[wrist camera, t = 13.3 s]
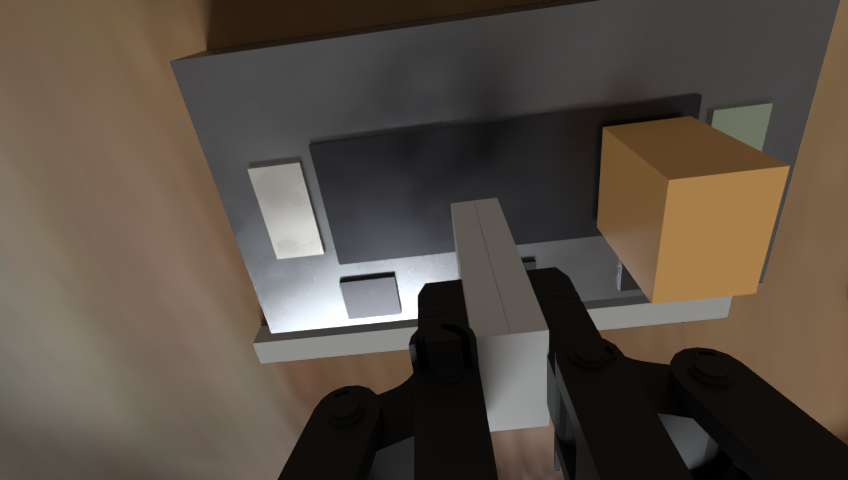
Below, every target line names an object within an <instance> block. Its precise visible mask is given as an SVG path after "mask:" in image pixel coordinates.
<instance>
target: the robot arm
mask: <svg viewBox="0 0 848 480" xmlns="http://www.w3.org/2000/svg"><path fill="white" fill-rule="evenodd" d="M450 204H451V213H452V222H453V231H454V240H455V249H456V258H457V267H458V276H459V279H458V280H449V281H440V282H432V283H425V284H424V286H423V287H422V289H421V291H420V292H419V294H418V329H417V330H416V331H415V332H414V334H413V335H412V336H411V338H410V342H409V350H410V356H411V361H412V366H413V372H414V373H413V374H412V375H411V377H410V378H409V379H408V380H407V381H405V382H404V383H403V384H401V385H400V386H398V387H396V388H394V389H392V390H389V391H387V392H384V393H381V394H379V395H377V394H375V393H374V392H373V391H372V390H370V389H369V388H366V387H362V386H358V385H357V386H345V387H342V388H340V389H337V390H334V391H332V392H331V393H330V394H328V395H327V396H325V397H324V398H323V399H322V400H321V401H320V402H319V404H318V405H317V406H316V408H315V409H314V411H313V413H312V415H311V417H310V419H309V421H308V422H307V424H306V426H305V428H304V430H303V432H302V434H301V436H300V438H299V440H298V441H297V443H296V445H295V447H294V449H293V451H292V453H291V455H290V457H289V459H288V461H287V462H286V464H285V466H284V468H283V470H282V472H281V474H280V476H279V478H278V480H498V475H497V470H496V464H495V458H494V452H493V446H492V440H491V435H490V432H491V431H501V430H511V429H521V428H531V427H541V426H549V413H550V416H551V419H552V422H553V425H554V428H555V430H554V465H555V471H560V466H561V469H562V472H563V476H564V479H565V480H848V446H847V445H846V444H845V443H843V442H842V441H841V440H840V439H838V438H837V437H836V436H835V435H833V434H832V433H831V432H829V431H828V430H827V429H826V428H824V427H823V426H822V425H821V424H819V423H818V422H817V421H815V420H814V419H813V418H812V417H810V416H809V415H808V414H807V413H805V412H804V411H803V410H801V409H800V408H799V407H798V406H796V405H795V404H794V403H793V402H791V401H790V400H789V399H787V398H786V397H785V396H784V395H782V394H781V393H780V392H779V391H777V390H776V389H775V388H773V387H772V386H771V385H770V384H768V383H767V382H766V381H764V380H763V379H762V378H761V377H759V376H758V375H757V374H756V373H754V372H753V371H752V370H750V369H749V368H748V367H747V366H745V365H744V364H743V363H742V362H740V361H738V360H737V359H735V358H733V357H732V356H730V355H728V354H726V353H723V352H720V351H717V350H714V349H707V348H699V347H696V348H689V349H684V350H682V351H680V352H678V353H676V354H675V355H674V357H673V358H672V360H671V362H670V365H667V364H660V363H652V362H644V361H639V360H634V359H631V358H628V357H626V356H624V355H623V353H622V352H621V351H620V350H619V349H618V347H617V346H616V345H614V344H613V343H611V342H609V341H607V340H606V339H603V338H602V337H601V335H600V333H599V331H598V330H597V328H596V326H595V324H594V322H593V320H592V318H591V317H590V315H589V313H588V311H587V309H586V307H585V305H584V304H583V302H582V301H581V298H580V296H579V294H578V292H577V291H576V289H575V287H574V285H573V283H572V281H571V279H570V277H569V276H568V275H566V274H565V273H563V272H562V271H561V270H559V269H558V268H556V267H550V268H541V269H533V270H525V268H524V265H523V263H522V260H521V258H520V255H519V252H518V250H517V247H516V245H515V242H514V240H513V237H512V235H511V232H510V230H509V227H508V224H507V222H506V219H505V217H504V214H503V212H502V209H501V207H500V204H499V201H498V199H497V198H490V199H482V200H474V201H466V202H458V203H450Z"/></svg>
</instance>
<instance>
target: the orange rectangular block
mask: <svg viewBox="0 0 848 480" xmlns="http://www.w3.org/2000/svg"><path fill="white" fill-rule="evenodd" d="M789 168H790V166H789V165H787V164H785V163H783V162H781V161H779V160H777V159H775V158H773V157H771V156H769V155H767V154H765V153H763V152H761V151H759V150H757V149H755V148H753V147H751V146H749V145H747V144H745V143H743V142H741V141H739V140H737V139H735V138H733V137H731V136H729V135H727V134H725V133H723V132H721V131H719V130H717V129H715V128H713V127H711V126H709V125H707V124H705V123H703V122H701V121H699V120H697V119H695V118H693V117H691V116H687V117H679V118H671V119H664V120H656V121H648V122H640V123H632V124H624V125H616V126H608V127H603V135H602V151H601V168H600V185H599V201H598V218H597V228H598V229H599V231H600V232H601V233H602V235H603V236H604V238H605V239H606V240H607V242H608V243H609V245H610V246H611V247H612V249H613V250H614V252H615V253H616V255H617V256H618V257H619V259H620V260H621V262H622V263H623V264H624V266H625V267H626V269H627V270H628V271H629V273H630V274H631V276H632V277H633V278H634V280H635V281H636V283H637V284H638V285H639V287H640V288H641V290H642V291H643V292H644V294H645V295H646V297H647V298H648V300H649V301H650V302H651V304H659V303H668V302H678V301H688V300H698V299H708V298H718V297H727V296H737V295H747V294H756V290H757V287H758V283H759V279H760V276H761V272H762V268H763V264H764V261H765V257H766V253H767V250H768V246H769V242H770V238H771V235H772V231H773V227H774V224H775V220H776V216H777V213H778V209H779V205H780V201H781V198H782V194H783V190H784V187H785V183H786V179H787V176H788V172H789Z"/></svg>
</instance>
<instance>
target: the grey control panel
mask: <svg viewBox="0 0 848 480" xmlns="http://www.w3.org/2000/svg"><path fill="white" fill-rule="evenodd" d="M839 2H840V0H555V1H548V2H541V3H534V4H527V5H520V6H513V7H506V8H499V9H492V10H485V11H478V12H471V13H464V14H457V15H450V16H443V17H436V18H429V19H422V20H415V21H408V22H401V23H394V24H387V25H380V26H373V27H366V28H359V29H352V30H345V31H338V32H331V33H324V34H317V35H310V36H303V37H296V38H289V39H282V40H275V41H268V42H261V43H254V44H247V45H240V46H233V47H226V48H219V49H212V50H205V51H202V52H199V53H196V54H192V55H189V56H186V57H183V58H180V59H176V60H173V61H170V64H171V67H172V69H173V72H174V75H175V77H176V80H177V83H178V85H179V88H180V91H181V93H182V96H183V99H184V101H185V104H186V107H187V109H188V112H189V115H190V117H191V120H192V123H193V125H194V128H195V131H196V133H197V136H198V139H199V141H200V144H201V147H202V149H203V152H204V155H205V157H206V160H207V163H208V165H209V168H210V171H211V174H212V176H213V179H214V182H215V184H216V187H217V190H218V192H219V195H220V198H221V200H222V203H223V206H224V208H225V211H226V214H227V216H228V219H229V222H230V224H231V227H232V230H233V232H234V235H235V238H236V240H237V243H238V246H239V248H240V251H241V254H242V256H243V259H244V262H245V264H246V267H247V270H248V272H249V275H250V278H251V280H252V283H253V286H254V288H255V291H256V294H257V296H258V299H259V302H260V304H261V307H262V310H263V312H264V315H265V318H266V320H267V323H268V326H269V328H270V331H271V333H281V332H291V331H301V330H310V329H320V328H330V327H339V326H349V325H359V324H369V323H378V322H388V321H398V320H408V319H417V318H418V294H419V292H420V291H421V289H422V287H423V286H424V284H425V283H432V282H440V281H449V280H458V279H459V276H458V267H457V258H456V249H455V240H454V231H453V222H452V213H451V204H450V203H458V202H466V201H474V200H482V199H490V198H497V199H498V201H499V204H500V207H501V209H502V212H503V214H504V217H505V219H506V222H507V224H508V227H509V230H510V232H511V235H512V237H513V240H514V242H515V245H516V247H517V250H518V252H519V255H520V258H521V260H522V263H523V265H524V268H525V270H533V269H541V268H550V267H556V268H558V269H559V270H561V271H562V272H563V273H565V274H566V275H568V276H569V277H570V279H571V281H572V283H573V285H574V287H575V289H576V291H577V292H578V294H579V296H580V298H581V301H592V300H602V299H612V298H621V297H631V296H641V295H645V294H644V292H643V291H642V290H641V288H640V287H639V285H638V284H637V283H636V281H635V280H634V278H633V277H632V276H631V274H630V273H629V271H628V270H627V269H626V267H625V266H624V264H623V263H622V262H621V260H620V259H619V257H618V256H617V255H616V253H615V252H614V250H613V249H612V247H611V246H610V245H609V243H608V242H607V240H606V239H605V238H604V236H603V235H602V233H601V232H600V231H599V229H598V228H597V218H598V201H599V185H600V168H601V151H602V135H603V127H608V126H616V125H624V124H632V123H640V122H648V121H656V120H664V119H671V118H679V117H687V116H691V117H693V118H695V119H697V120H699V121H701V122H703V123H705V124H707V125H709V126H711V127H713V128H715V129H717V130H719V131H721V132H723V133H725V134H727V135H729V136H731V137H733V138H735V139H737V140H739V141H741V142H743V143H745V144H747V145H749V146H751V147H753V148H755V149H757V150H759V151H761V152H763V153H765V154H767V155H769V156H771V157H773V158H775V159H777V160H779V161H781V162H783V163H785V164H787V165H789V166H790V168H789V172H788V176H787V179H786V183H785V187H784V190H783V194H782V198H781V201H780V205H779V209H778V213H777V216H776V220H775V224H774V227H773V231H772V235H771V238H770V242H769V246H768V250H767V253H766V257H765V261H764V264H763V268H762V272H761V276H760V279H759V283H762V282H763V278H764V275H765V271H766V267H767V264H768V260H769V256H770V253H771V249H772V246H773V242H774V238H775V235H776V231H777V227H778V224H779V220H780V216H781V213H782V209H783V206H784V202H785V198H786V195H787V191H788V187H789V184H790V180H791V176H792V173H793V169H794V165H795V162H796V158H797V155H798V151H799V147H800V144H801V140H802V136H803V133H804V129H805V125H806V122H807V118H808V115H809V111H810V107H811V104H812V100H813V96H814V93H815V89H816V85H817V82H818V78H819V75H820V71H821V67H822V64H823V60H824V56H825V53H826V49H827V45H828V42H829V38H830V34H831V31H832V27H833V24H834V20H835V16H836V13H837V9H838V5H839Z"/></svg>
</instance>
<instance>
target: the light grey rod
mask: <svg viewBox="0 0 848 480" xmlns="http://www.w3.org/2000/svg"><path fill="white" fill-rule="evenodd" d="M731 300H732V296H727V297H718V298H708V299H698V300H688V301H678V302H668V303H659V304H651V302H650V301H649V300H648V298H647V297H646V295H641V296H631V297H621V298H612V299H602V300H592V301H582V302H583V304H584V305H585V307H586V309H587V311H588V313H589V315H590V317H591V318H592V320H593V322H594V324H595V326H596V328H597V330H605V329H616V328H626V327H636V326H646V325H656V324H666V323H676V322H686V321H696V320H706V319H717V318H727V316H728V312H729V308H730V304H731ZM417 329H418V318H417V319H408V320H398V321H388V322H378V323H369V324H359V325H349V326H339V327H330V328H320V329H310V330H301V331H291V332H281V333H271V331H270V328H269V326H268V325H266V326H261V327H260V329H259V331H258V333H257V336H256V338H255V340H254V342H253V346H254V348H255V350H256V353H257V355H258V358H259V360H260V363H261V364H262V363H272V362H282V361H292V360H302V359H312V358H322V357H332V356H343V355H353V354H363V353H373V352H383V351H393V350H403V349H409V342H410V338H411V336H412V335H413V334H414V332H415V331H416V330H417Z"/></svg>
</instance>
